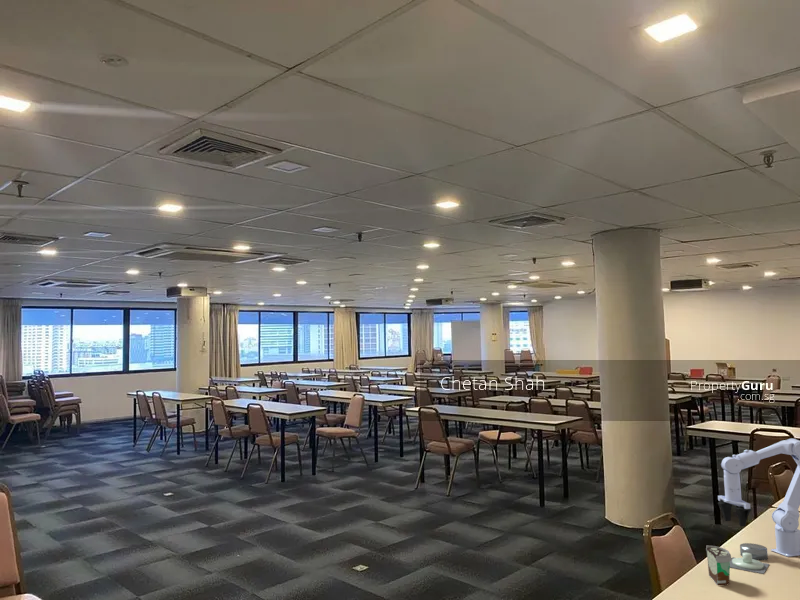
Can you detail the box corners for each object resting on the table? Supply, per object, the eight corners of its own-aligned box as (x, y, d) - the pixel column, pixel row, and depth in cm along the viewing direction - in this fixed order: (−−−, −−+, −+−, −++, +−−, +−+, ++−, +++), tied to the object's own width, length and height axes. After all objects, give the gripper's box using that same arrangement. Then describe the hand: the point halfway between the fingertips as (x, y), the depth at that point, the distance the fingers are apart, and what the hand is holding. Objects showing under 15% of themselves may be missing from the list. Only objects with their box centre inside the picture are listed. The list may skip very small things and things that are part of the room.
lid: (747, 559, 223) (746, 548, 223) (770, 568, 213) (769, 556, 213) (725, 562, 220) (725, 551, 220) (748, 571, 210) (747, 559, 211)
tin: (754, 551, 232) (753, 542, 232) (773, 559, 223) (772, 549, 223) (735, 553, 230) (734, 544, 230) (753, 561, 221) (753, 551, 221)
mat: (732, 558, 225) (732, 557, 225) (769, 564, 217) (769, 563, 217) (725, 566, 216) (725, 566, 216) (763, 574, 208) (763, 573, 208)
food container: (739, 588, 196) (736, 557, 197) (718, 587, 197) (716, 556, 198) (726, 574, 208) (724, 545, 209) (707, 573, 209) (705, 544, 210)
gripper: (710, 485, 242) (713, 519, 241) (738, 492, 228) (741, 529, 227) (725, 484, 244) (727, 517, 242) (753, 491, 230) (756, 527, 228)
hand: (735, 523), depth 235 cm, fingers open, 7 cm apart
